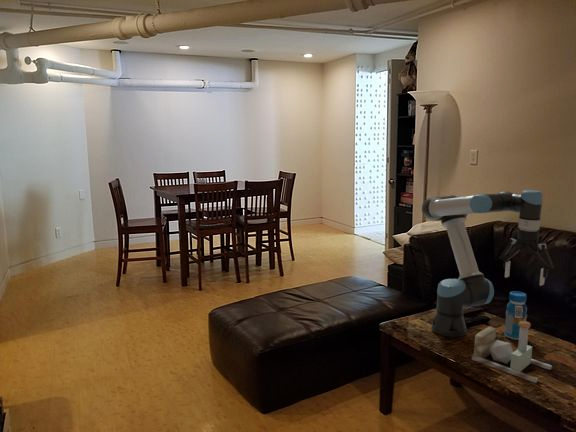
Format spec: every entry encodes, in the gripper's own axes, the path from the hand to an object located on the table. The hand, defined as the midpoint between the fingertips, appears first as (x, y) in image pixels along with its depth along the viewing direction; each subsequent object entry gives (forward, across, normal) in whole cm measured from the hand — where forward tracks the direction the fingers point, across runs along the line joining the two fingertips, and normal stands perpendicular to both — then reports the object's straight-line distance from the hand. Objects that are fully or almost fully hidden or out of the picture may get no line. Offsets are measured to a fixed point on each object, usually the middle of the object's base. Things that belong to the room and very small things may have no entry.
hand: (523, 280), depth 190 cm
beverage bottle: (+31, -7, +14) cm, 35 cm away
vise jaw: (+30, +6, -13) cm, 34 cm away
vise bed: (+31, +3, -13) cm, 33 cm away
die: (+31, -1, -13) cm, 34 cm away
